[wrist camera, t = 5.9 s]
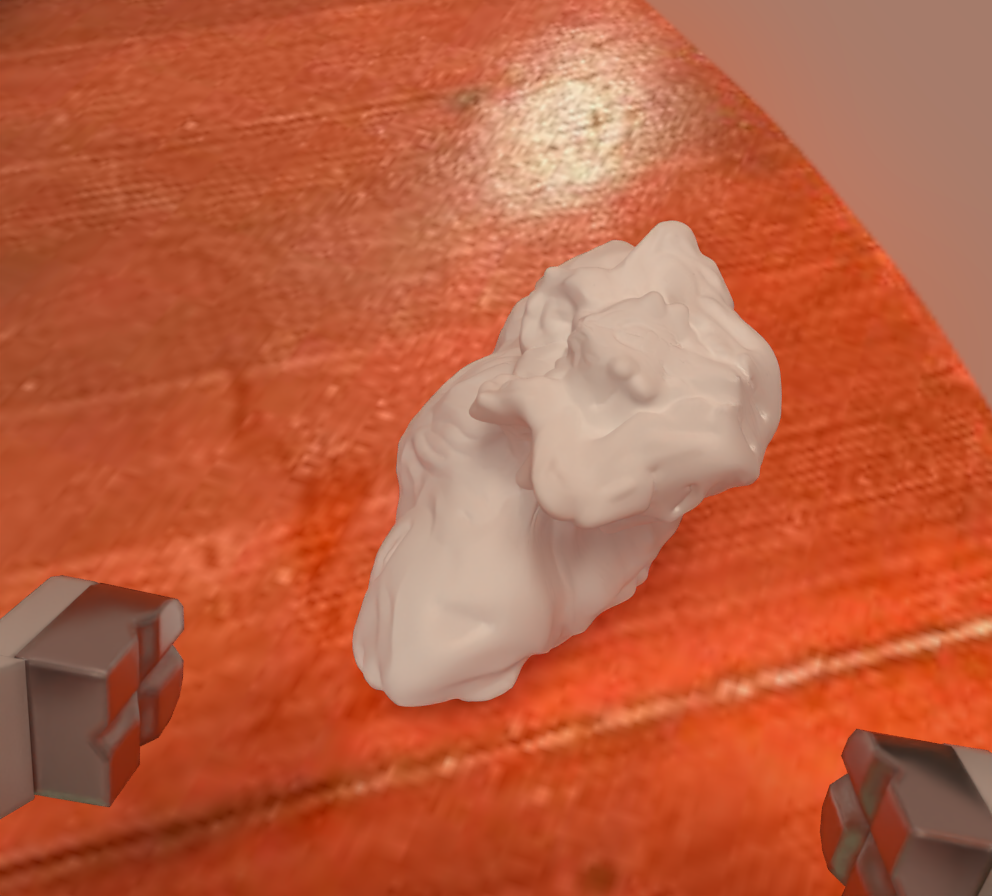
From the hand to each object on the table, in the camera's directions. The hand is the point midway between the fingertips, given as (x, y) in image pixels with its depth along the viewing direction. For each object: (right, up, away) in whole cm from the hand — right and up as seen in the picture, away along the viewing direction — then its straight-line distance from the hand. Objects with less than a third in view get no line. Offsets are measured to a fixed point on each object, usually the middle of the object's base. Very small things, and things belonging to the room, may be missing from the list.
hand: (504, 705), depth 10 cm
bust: (+1, +1, +12) cm, 12 cm away
